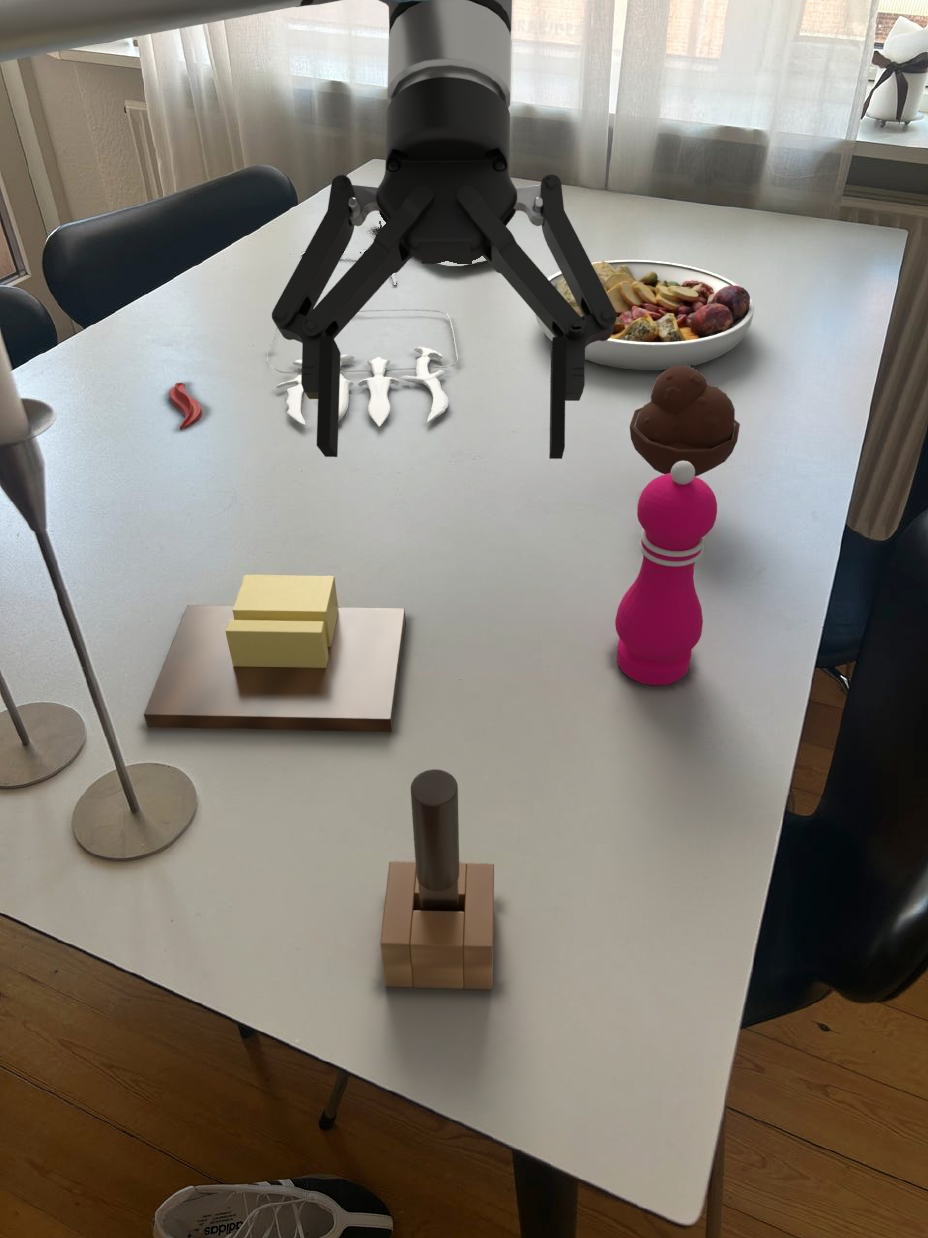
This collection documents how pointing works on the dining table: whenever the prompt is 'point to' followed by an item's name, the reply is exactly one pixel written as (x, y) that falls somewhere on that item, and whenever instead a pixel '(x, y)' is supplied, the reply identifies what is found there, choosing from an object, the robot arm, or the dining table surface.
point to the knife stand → (438, 932)
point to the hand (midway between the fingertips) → (441, 452)
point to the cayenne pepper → (185, 405)
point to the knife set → (377, 384)
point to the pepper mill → (666, 578)
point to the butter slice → (277, 643)
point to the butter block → (288, 599)
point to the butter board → (281, 678)
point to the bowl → (664, 314)
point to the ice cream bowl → (685, 423)
